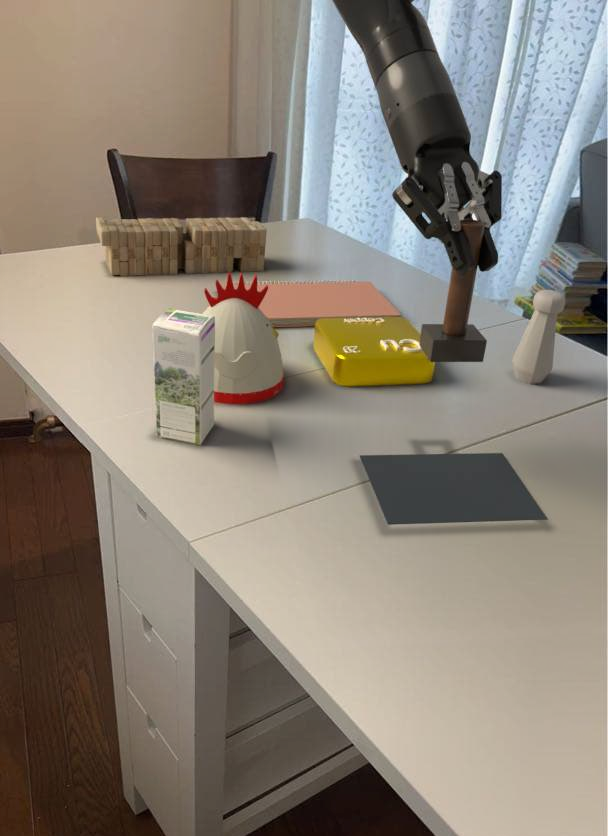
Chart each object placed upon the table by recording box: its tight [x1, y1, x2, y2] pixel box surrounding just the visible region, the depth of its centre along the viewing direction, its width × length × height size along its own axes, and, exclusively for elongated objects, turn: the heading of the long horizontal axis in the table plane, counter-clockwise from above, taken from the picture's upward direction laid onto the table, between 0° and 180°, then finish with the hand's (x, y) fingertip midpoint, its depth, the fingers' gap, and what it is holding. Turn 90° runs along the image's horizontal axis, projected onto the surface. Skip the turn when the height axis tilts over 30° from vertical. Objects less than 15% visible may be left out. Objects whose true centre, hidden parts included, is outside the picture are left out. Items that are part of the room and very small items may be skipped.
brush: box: [419, 219, 488, 363], centre depth 85 cm, size 6×5×14 cm
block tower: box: [95, 217, 268, 277], centre depth 144 cm, size 8×8×29 cm
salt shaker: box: [511, 289, 566, 385], centre depth 115 cm, size 6×6×13 cm
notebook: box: [220, 279, 402, 328], centre depth 134 cm, size 27×17×2 cm, turn 105°
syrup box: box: [151, 308, 215, 446], centre depth 94 cm, size 6×6×14 cm
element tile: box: [312, 316, 436, 388], centre depth 117 cm, size 15×15×5 cm
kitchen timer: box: [202, 271, 285, 405], centre depth 106 cm, size 14×14×15 cm
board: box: [359, 452, 548, 525], centre depth 91 cm, size 18×14×1 cm
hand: (478, 268), depth 82 cm, fingers closed on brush, 2 cm apart
